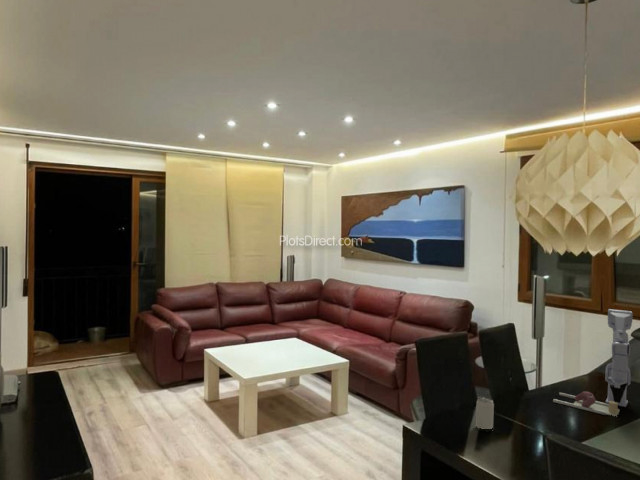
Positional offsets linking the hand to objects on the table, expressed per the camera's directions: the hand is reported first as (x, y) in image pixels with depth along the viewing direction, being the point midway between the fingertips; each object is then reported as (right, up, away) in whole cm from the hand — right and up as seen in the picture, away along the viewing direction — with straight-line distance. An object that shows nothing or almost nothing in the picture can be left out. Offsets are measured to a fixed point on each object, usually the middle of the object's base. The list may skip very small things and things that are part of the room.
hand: (618, 399), depth 194 cm
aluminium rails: (-11, -6, +9) cm, 15 cm away
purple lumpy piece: (-10, -5, +8) cm, 14 cm away
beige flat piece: (-7, -6, +5) cm, 10 cm away
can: (-67, -4, -20) cm, 71 cm away
